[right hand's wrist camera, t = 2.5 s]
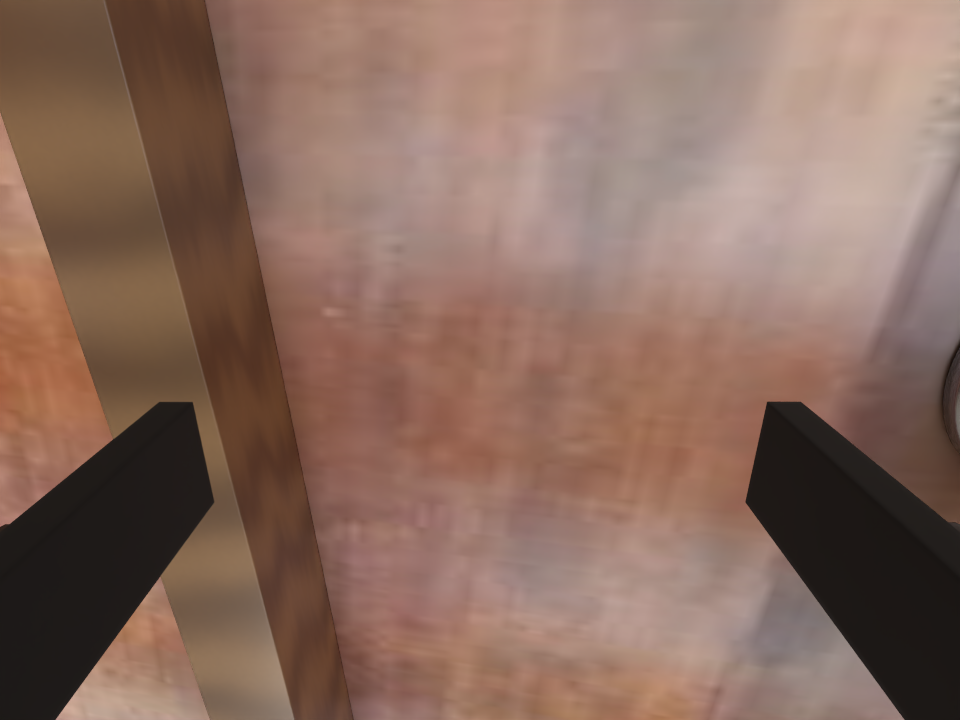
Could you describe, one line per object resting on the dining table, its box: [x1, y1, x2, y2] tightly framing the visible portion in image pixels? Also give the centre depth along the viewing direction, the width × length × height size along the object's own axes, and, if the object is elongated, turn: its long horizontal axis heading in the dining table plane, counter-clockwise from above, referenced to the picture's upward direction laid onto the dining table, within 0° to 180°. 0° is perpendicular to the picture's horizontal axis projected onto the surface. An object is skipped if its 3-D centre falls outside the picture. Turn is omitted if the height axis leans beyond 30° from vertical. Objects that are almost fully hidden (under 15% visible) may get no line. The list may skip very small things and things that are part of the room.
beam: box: [0, 0, 353, 720], centre depth 28 cm, size 73×5×8 cm, turn 3°
